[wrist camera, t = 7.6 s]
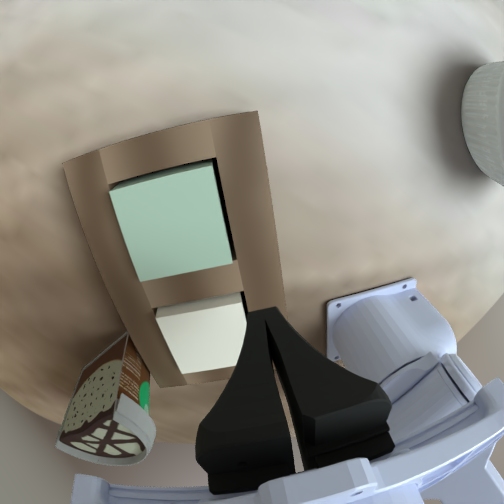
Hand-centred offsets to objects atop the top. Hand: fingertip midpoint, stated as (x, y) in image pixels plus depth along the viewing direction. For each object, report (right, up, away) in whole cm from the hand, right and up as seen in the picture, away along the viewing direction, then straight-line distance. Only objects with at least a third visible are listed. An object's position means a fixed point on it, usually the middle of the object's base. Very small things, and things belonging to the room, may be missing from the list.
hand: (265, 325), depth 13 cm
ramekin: (+23, +16, +6) cm, 29 cm away
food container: (-13, -8, +13) cm, 20 cm away
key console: (-5, +2, +9) cm, 10 cm away
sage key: (-5, +6, +5) cm, 10 cm away
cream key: (-4, -2, +10) cm, 11 cm away
